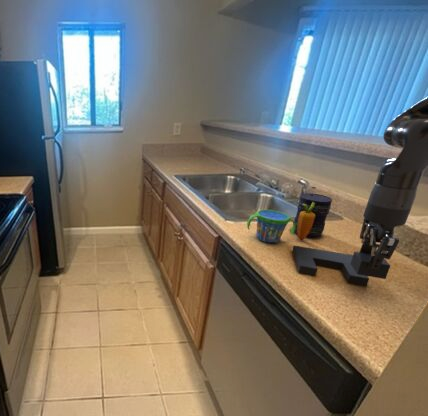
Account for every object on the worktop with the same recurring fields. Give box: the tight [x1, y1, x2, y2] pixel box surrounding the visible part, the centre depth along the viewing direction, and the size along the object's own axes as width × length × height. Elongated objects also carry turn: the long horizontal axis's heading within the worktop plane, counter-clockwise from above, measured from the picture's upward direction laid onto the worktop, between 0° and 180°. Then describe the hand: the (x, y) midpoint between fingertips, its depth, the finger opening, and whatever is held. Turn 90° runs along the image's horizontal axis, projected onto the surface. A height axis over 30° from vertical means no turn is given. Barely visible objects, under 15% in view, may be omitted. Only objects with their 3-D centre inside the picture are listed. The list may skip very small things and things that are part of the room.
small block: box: [351, 251, 391, 280], centre depth 72 cm, size 6×6×4 cm
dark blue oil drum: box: [293, 186, 333, 240], centre depth 105 cm, size 10×10×18 cm
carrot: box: [297, 202, 315, 241], centre depth 100 cm, size 5×5×15 cm
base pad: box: [291, 245, 370, 287], centre depth 86 cm, size 16×14×2 cm
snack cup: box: [246, 209, 296, 244], centre depth 102 cm, size 16×10×10 cm
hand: (368, 262), depth 72 cm, fingers closed on small block, 5 cm apart
